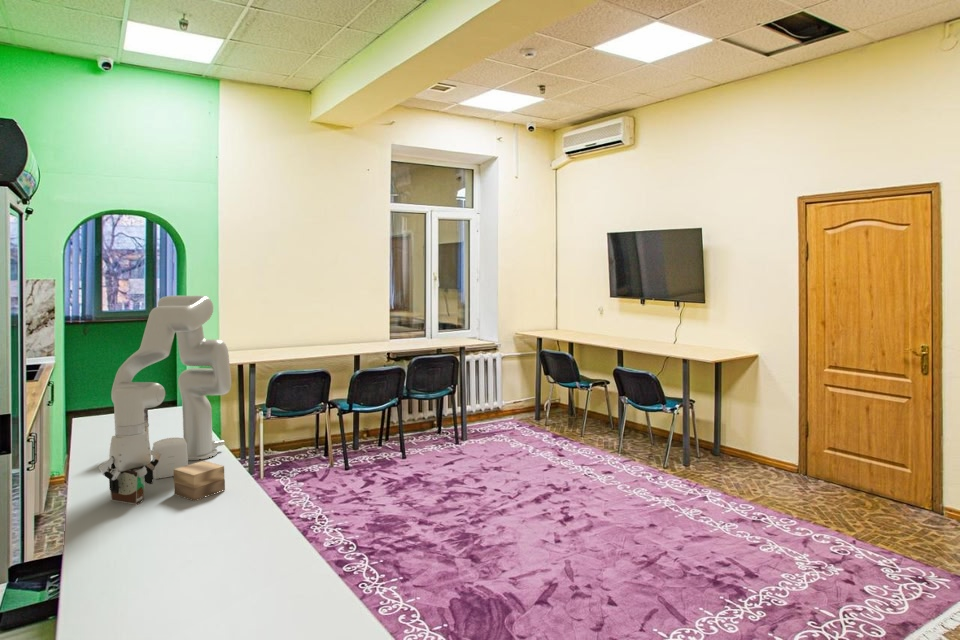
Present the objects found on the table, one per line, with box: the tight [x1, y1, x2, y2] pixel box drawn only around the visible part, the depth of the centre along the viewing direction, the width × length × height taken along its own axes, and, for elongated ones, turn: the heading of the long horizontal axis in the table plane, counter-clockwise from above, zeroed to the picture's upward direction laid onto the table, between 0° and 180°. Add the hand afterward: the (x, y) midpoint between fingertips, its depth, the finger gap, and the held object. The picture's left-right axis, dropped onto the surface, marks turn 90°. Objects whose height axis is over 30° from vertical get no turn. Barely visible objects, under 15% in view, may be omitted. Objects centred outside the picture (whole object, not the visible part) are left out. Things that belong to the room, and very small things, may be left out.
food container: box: [107, 466, 147, 505], centre depth 182 cm, size 12×6×10 cm, turn 71°
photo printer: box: [151, 437, 189, 480], centre depth 203 cm, size 10×4×12 cm, turn 123°
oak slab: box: [173, 460, 225, 489], centre depth 188 cm, size 10×10×4 cm
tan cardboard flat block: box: [173, 478, 226, 501], centre depth 188 cm, size 10×10×4 cm
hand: (132, 487), depth 182 cm, fingers open, 9 cm apart
